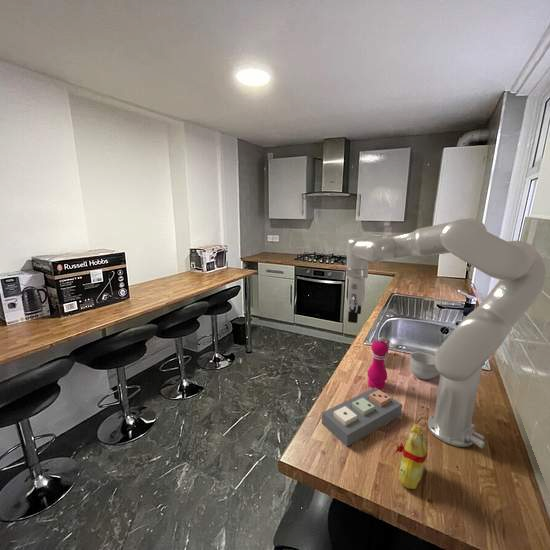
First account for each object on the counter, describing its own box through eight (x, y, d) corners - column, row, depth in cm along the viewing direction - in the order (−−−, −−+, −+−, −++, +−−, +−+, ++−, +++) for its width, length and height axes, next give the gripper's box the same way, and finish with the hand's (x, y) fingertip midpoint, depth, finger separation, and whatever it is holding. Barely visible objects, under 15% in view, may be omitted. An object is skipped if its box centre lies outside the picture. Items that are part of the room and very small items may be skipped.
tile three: (390, 406, 98) (391, 397, 97) (380, 412, 96) (381, 402, 95) (377, 398, 102) (378, 389, 101) (368, 403, 100) (368, 394, 99)
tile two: (374, 415, 94) (374, 405, 93) (363, 421, 91) (364, 411, 91) (362, 406, 98) (362, 397, 97) (351, 412, 96) (352, 402, 95)
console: (401, 414, 97) (402, 404, 96) (346, 446, 84) (347, 435, 83) (374, 396, 106) (375, 387, 105) (321, 423, 93) (322, 412, 92)
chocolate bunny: (427, 465, 78) (434, 417, 75) (416, 496, 70) (423, 444, 66) (401, 452, 82) (406, 406, 79) (387, 479, 74) (392, 429, 71)
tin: (382, 351, 139) (384, 335, 137) (389, 353, 137) (391, 337, 136) (372, 365, 127) (374, 347, 125) (380, 367, 126) (381, 349, 124)
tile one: (356, 425, 90) (357, 414, 89) (344, 431, 87) (345, 421, 87) (344, 415, 94) (345, 405, 93) (333, 421, 92) (333, 411, 91)
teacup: (403, 374, 120) (405, 357, 118) (415, 365, 127) (417, 348, 125) (440, 390, 110) (443, 371, 108) (450, 378, 117) (453, 360, 115)
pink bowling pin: (387, 391, 109) (392, 342, 104) (367, 389, 111) (371, 340, 106) (384, 380, 116) (389, 334, 111) (365, 378, 117) (369, 332, 113)
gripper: (365, 278, 96) (362, 327, 99) (370, 268, 111) (367, 311, 115) (342, 277, 98) (340, 324, 102) (350, 267, 114) (348, 309, 118)
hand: (354, 317), depth 109 cm, fingers open, 9 cm apart
